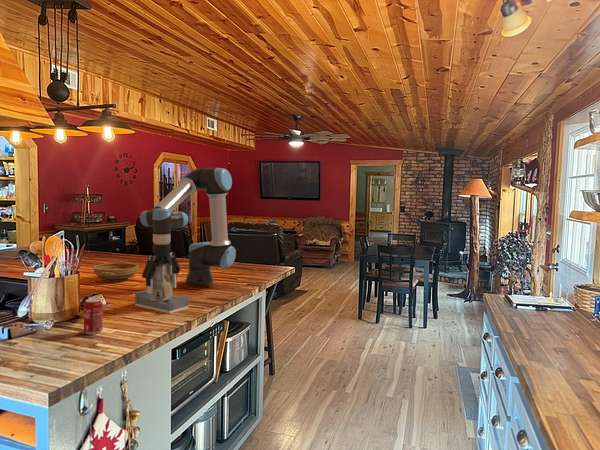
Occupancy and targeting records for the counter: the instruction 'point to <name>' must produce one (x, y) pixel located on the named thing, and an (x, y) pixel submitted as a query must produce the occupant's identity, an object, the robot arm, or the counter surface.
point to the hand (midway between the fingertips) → (162, 290)
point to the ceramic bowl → (115, 271)
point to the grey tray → (166, 306)
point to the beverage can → (93, 316)
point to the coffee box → (162, 282)
